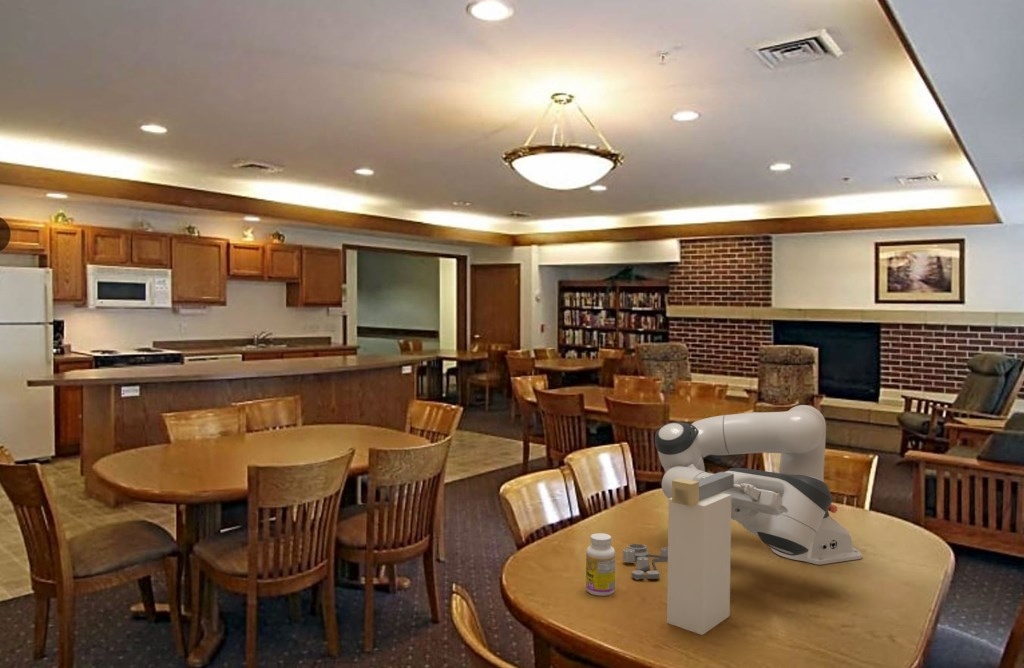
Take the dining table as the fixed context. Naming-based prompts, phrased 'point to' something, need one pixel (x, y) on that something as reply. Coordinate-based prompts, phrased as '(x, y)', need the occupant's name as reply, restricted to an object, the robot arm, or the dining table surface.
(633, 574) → the pulley system
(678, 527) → the pillar
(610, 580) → the supplement bottle
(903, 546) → the dining table surface
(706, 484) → the bar
